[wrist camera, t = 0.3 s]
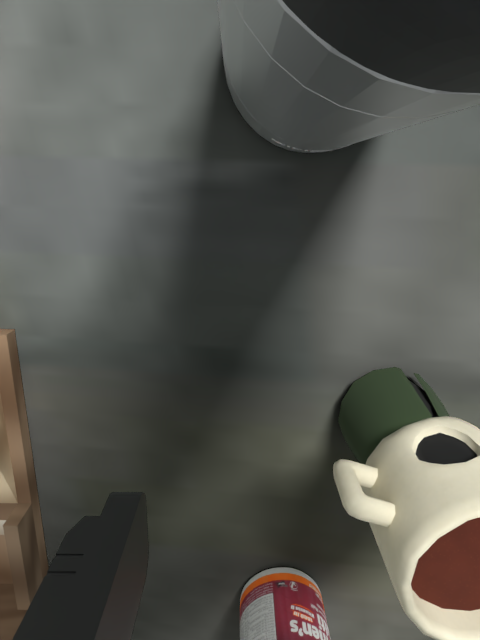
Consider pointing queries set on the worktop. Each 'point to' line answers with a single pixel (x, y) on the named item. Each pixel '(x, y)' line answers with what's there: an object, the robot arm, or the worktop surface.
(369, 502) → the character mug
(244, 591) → the pill bottle
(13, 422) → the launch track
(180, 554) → the worktop surface
